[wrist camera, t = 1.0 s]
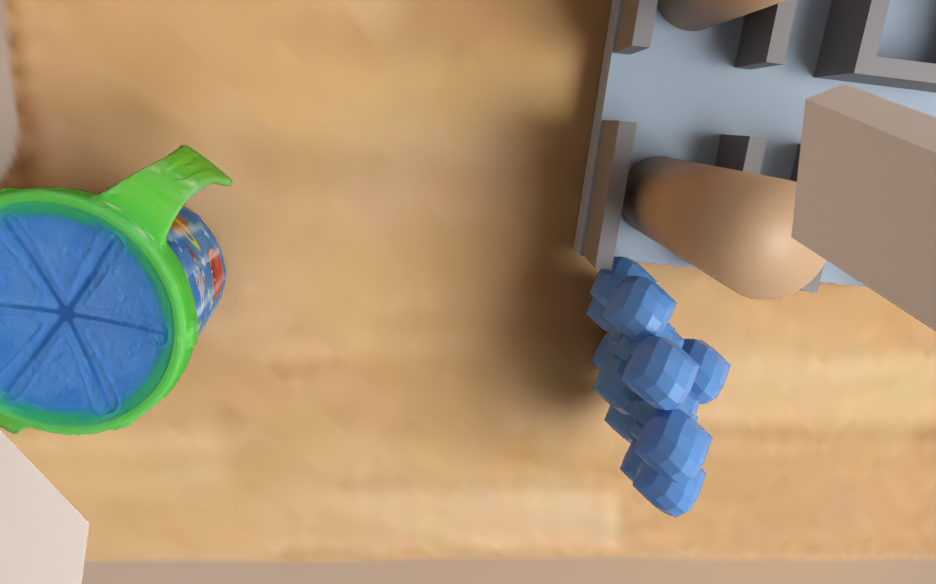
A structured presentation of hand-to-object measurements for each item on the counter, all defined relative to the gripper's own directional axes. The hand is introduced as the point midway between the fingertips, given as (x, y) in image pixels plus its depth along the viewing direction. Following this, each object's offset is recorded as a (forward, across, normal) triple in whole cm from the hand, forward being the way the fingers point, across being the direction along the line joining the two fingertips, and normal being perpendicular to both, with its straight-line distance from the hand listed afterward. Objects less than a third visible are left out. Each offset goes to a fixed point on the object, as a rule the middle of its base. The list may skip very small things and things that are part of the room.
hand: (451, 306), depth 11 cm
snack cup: (+27, -11, -11) cm, 32 cm away
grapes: (+18, +12, -21) cm, 30 cm away
